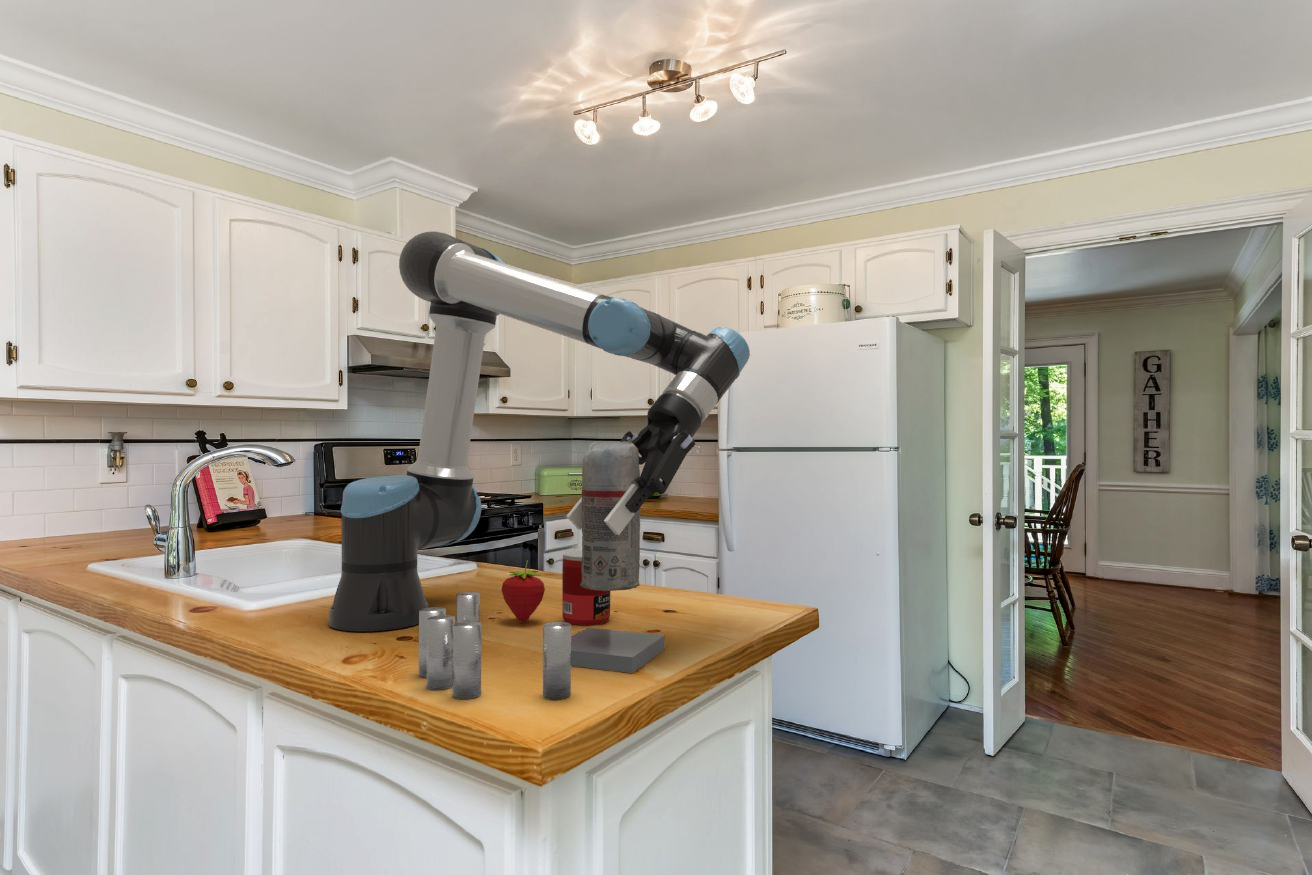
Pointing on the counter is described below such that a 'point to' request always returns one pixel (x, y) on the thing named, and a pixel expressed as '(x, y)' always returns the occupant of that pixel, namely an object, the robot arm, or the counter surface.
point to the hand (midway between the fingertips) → (591, 525)
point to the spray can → (603, 485)
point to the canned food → (581, 595)
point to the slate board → (614, 649)
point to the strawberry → (523, 593)
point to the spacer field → (457, 651)
